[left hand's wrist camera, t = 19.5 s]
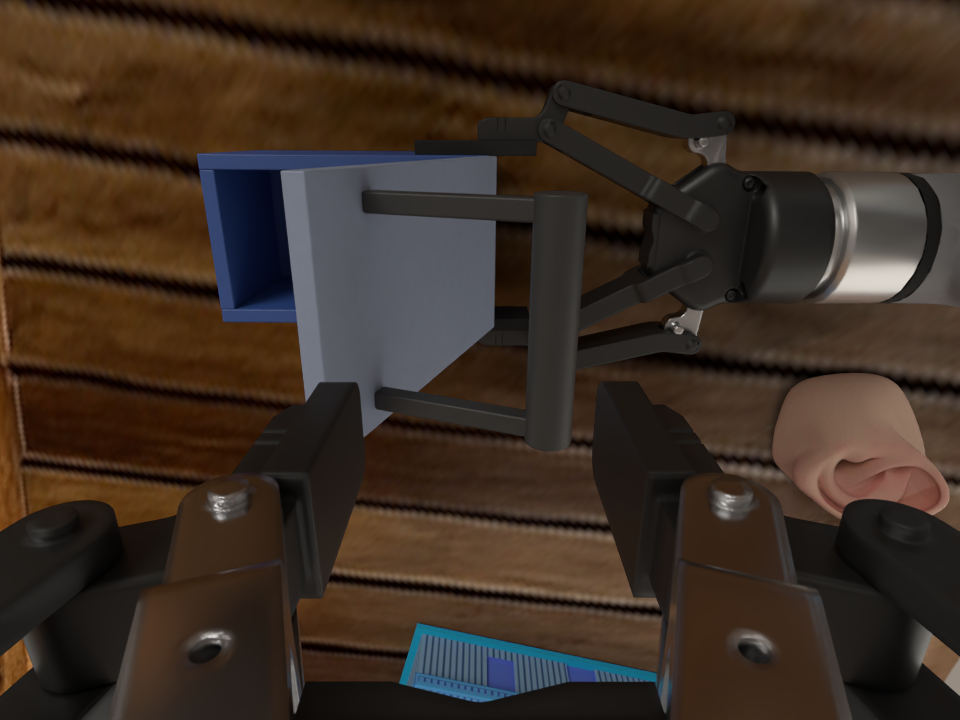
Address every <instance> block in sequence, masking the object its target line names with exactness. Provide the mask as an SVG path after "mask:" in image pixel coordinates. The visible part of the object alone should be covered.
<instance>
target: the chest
mask: <svg viewBox="0 0 960 720" xmlns="http://www.w3.org/2000/svg"><path fill="white" fill-rule="evenodd" d="M476 156H488V155H415V151H289V150H257V151H239V152H221V153H204V154H197V158H198V165H199V169H201V170H200V177H201V183H202V190H203V196H204V202H205V209H206V215H207V221H208V228H209V234H210V240H211V246H212V253H213V259H214V265H215V272H216V278H217V284H218V291H219V297H220V303H221V308H222V316H223V321H224V322H297V316H296V307H295V298H294V289H293V280H292V271H291V262H290V253H289V244H288V235H287V226H286V217H285V208H284V199H283V190H282V181H281V171H282V170H294V169H308V168H322V167H336V166H350V165H364V164H378V163H392V162H406V161H420V160H434V159H448V158H462V157H476Z"/></svg>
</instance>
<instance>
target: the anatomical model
mask: <svg viewBox="0 0 960 720" xmlns="http://www.w3.org/2000/svg"><path fill="white" fill-rule="evenodd" d="M772 455H773V459H774V461H775V463H776V464H777V466H778V467H779V468H780V469H781V470H782V471H783V472H784V473H785V474H786V475H787V476H788V477H789V478H791V479H792V480H793V481H794V483H795V485H796V486H797V487H798V488H799V489H800V490H801V491H802V492H804V493H805V494H806V495H807V496H809V497H810V498H811V499H812V500H814V501H815V502H816V503H817V504H818V505H820V506H821V507H822V508H823V509H825V510H826V511H827V512H829V513H830V514H832V515H833V516H835V517H837V518H839V519H841V517H842V514H843V510H844V508H845V506H846V505H847V504H849V503H851V502H853V501H856V500H860V499H881V500H888V501H893V502H897V503H901V504H905V505H908V506H911V507H914V508H917V509H919V510H922V511H924V512H926V513H928V514H931V515H934V514H936V513H937V512H939V511H941V510H942V509H943V508H944V507H945V506H946V505H947V503H948V501H949V497H950V493H949V488H948V485H947V483H946V481H945V480H944V478H943V476H942V475H941V473H940V472H939V471H938V470H937V468H936V467H935V466H934V465H933V464H932V463H931V461H930V460H929V459H928V458H927V457H926V455H925V449H924V444H923V440H922V436H921V433H920V430H919V426H918V423H917V421H916V418H915V415H914V413H913V410H912V408H911V406H910V403H909V401H908V400H907V398H906V396H905V394H904V393H903V391H902V390H901V389H900V387H899V386H898V385H897V384H895V383H894V382H893V381H891V380H890V379H888V378H885V377H882V376H879V375H875V374H867V373H840V374H831V375H823V376H818V377H813V378H809V379H806V380H804V381H801V382H799V383H798V384H796V385H795V386H794V387H793V388H792V389H791V390H790V391H789V393H788V394H787V396H786V398H785V400H784V402H783V405H782V407H781V410H780V413H779V416H778V420H777V423H776V426H775V430H774V437H773V444H772Z"/></svg>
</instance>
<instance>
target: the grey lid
mask: <svg viewBox="0 0 960 720" xmlns="http://www.w3.org/2000/svg"><path fill="white" fill-rule="evenodd" d="M496 176H497V157H496V156H476V157H462V158H448V159H434V160H420V161H406V162H392V163H378V164H364V165H350V166H336V167H322V168H308V169H294V170H282V171H281V181H282V190H283V199H284V208H285V217H286V226H287V235H288V244H289V253H290V262H291V271H292V280H293V289H294V298H295V307H296V316H297V325H298V334H299V343H300V352H301V361H302V370H303V379H304V388H305V397H306V401H307V400H308V398H309V397H310V395H311V394H312V392H313V391H314V389H315V388H316V386H317V385H318V383H319V382H357V384H358V386H359V390H360V398H361V411H362V423H363V435H364V437H365V436H366V435H367V434H368V433H370V432H371V431H372V430H373V429H374V428H376V427H377V426H378V425H379V424H380V423H381V422H383V421H384V420H385V419H386V418H387V417H388V416H390V415H391V414H392V413H399V414H404V415H410V416H415V417H421V418H426V419H432V420H437V421H443V422H448V423H454V424H459V425H464V426H470V427H475V428H481V429H486V430H492V431H497V432H503V433H508V434H514V435H519V436H525V441H526V443H527V444H528V445H529V446H530V447H532V448H534V449H537V450H541V451H559V450H563V449H565V448H567V447H568V446H569V445H570V443H571V432H572V418H573V404H574V390H575V375H576V361H577V347H578V333H579V319H580V305H581V290H582V276H583V262H584V248H585V234H586V220H587V205H588V194H587V193H584V192H576V191H539V192H535V193H534V196H515V195H496ZM496 221H507V222H525V223H533V231H532V257H531V283H530V309H529V336H528V362H527V388H526V410H522V409H516V408H510V407H504V406H498V405H492V404H486V403H480V402H474V401H468V400H462V399H456V398H450V397H444V396H438V395H432V394H426V393H420V392H418V391H419V390H420V389H421V388H423V387H424V386H425V385H426V384H427V383H429V382H430V381H431V380H432V379H433V378H434V377H436V376H437V375H438V374H439V373H440V372H442V371H443V370H444V369H445V368H446V367H447V366H449V365H450V364H451V363H452V362H453V361H454V360H456V359H457V358H458V357H459V356H460V355H462V354H463V353H464V352H465V351H466V350H467V349H469V348H470V347H471V346H472V345H473V344H475V343H476V342H477V341H478V340H479V339H480V338H482V337H483V336H484V335H485V334H486V333H487V332H489V331H490V330H491V329H492V328H493V327H494V302H495V239H496Z"/></svg>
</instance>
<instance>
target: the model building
mask: <svg viewBox="0 0 960 720" xmlns="http://www.w3.org/2000/svg"><path fill="white" fill-rule="evenodd" d="M656 674H657V673H654V672H649V671H644V670H639V669H634V668H630V667H625V666H620V665H615V664H611V663H606V662H601V661H596V660H591V659H587V658H582V657H577V656H572V655H568V654H563V653H558V652H553V651H549V650H544V649H539V648H534V647H529V646H525V645H520V644H515V643H510V642H506V641H501V640H496V639H491V638H486V637H482V636H477V635H472V634H467V633H463V632H458V631H453V630H448V629H443V628H439V627H434V626H429V625H424V624H420V623H417V627H416V630H415V633H414V636H413V640H412V643H411V646H410V650H409V653H408V656H407V659H406V663H405V666H404V669H403V673H402V676H401V679H400V682H399V684H403V685H407V686H411V687H415V688H419V689H423V690H428V691H432V692H436V693H440V694H444V695H448V696H452V697H456V698H460V699H464V700H468V701H474V702H486V701H492V700H496V699H500V698H504V697H508V696H512V695H516V694H520V693H524V692H528V691H532V690H537V689H541V688H545V687H549V686H553V685H557V684H561V683H565V682H655V685H656Z"/></svg>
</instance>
